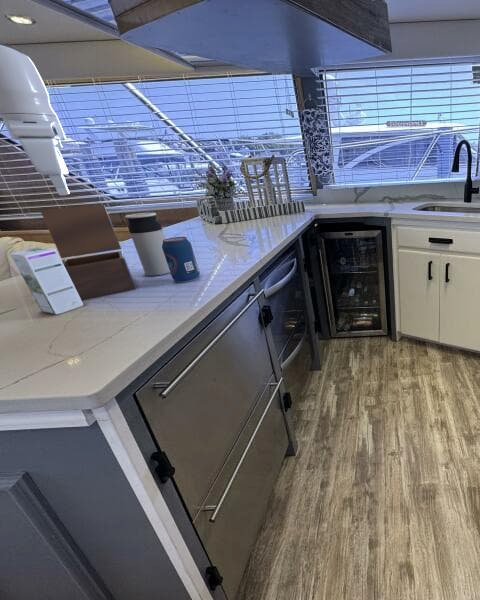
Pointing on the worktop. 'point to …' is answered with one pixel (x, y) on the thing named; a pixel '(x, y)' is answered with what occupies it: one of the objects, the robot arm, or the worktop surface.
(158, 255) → the travel mug
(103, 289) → the chest
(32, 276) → the syrup box
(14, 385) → the worktop surface
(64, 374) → the worktop surface
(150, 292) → the worktop surface
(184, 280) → the soda can
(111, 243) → the chest lid
